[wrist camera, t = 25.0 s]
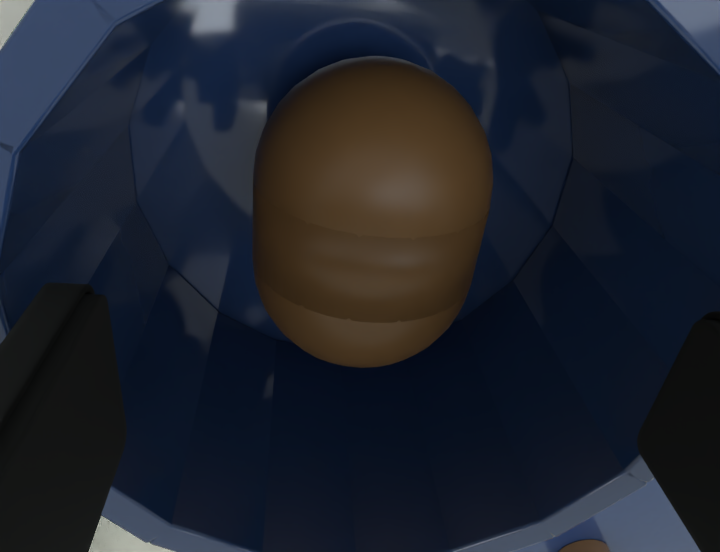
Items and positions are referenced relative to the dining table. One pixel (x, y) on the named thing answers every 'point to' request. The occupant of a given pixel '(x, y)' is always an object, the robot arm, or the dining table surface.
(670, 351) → the crock
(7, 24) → the dining table surface
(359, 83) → the kiwi
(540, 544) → the lid
